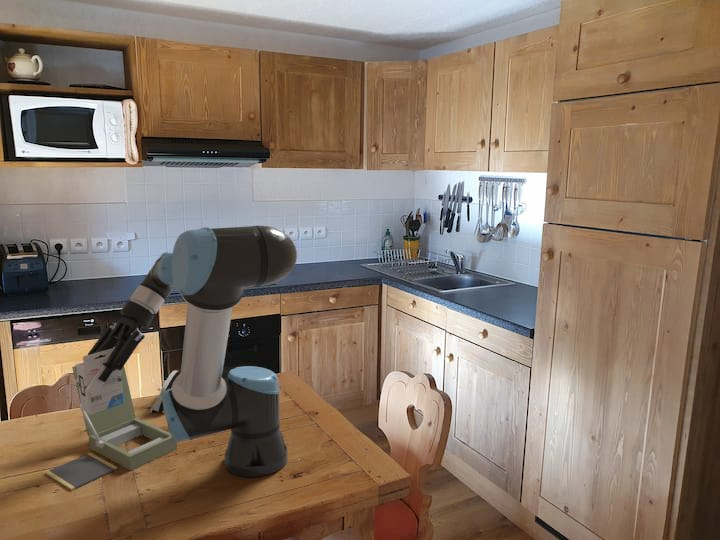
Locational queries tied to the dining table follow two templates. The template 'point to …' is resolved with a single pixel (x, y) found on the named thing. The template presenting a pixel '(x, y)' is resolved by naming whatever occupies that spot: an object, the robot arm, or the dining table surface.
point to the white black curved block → (167, 385)
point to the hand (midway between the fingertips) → (84, 389)
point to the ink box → (109, 391)
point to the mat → (81, 471)
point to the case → (124, 432)
